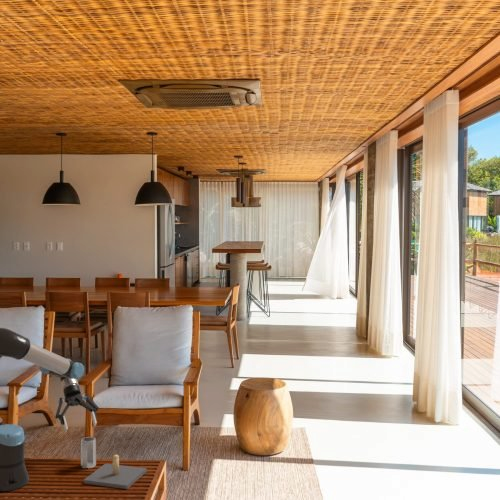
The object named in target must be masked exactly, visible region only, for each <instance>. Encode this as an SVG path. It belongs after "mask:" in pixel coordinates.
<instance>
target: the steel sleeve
mask: <svg viewBox="0 0 500 500" xmlns="http://www.w3.org/2000/svg"><path fill="white" fill-rule="evenodd" d="M81 466H82V467H81ZM96 466H97V439H96V437H94V436H87V437H82V438H81V440H80V467H81V468H82V469H86V468H88V469H92V468H94V467H96Z"/></svg>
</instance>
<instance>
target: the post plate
mask: <svg viewBox="0 0 500 500" xmlns="http://www.w3.org/2000/svg"><path fill="white" fill-rule="evenodd" d="M147 470H148V469H147V467H139V466H129V465H121V464H120V456H119V454H114V455H113V456H112V463H104V464H103V465H101V466H100V467H99V468H97V469H96V470H94V472H92V473H91V474H90V475H88V476H87V477H85V478H84V479H83V484H85V485H93V486H99V487H107V488H109V487H110V488H117V489H122V490H123V489H125V490H128V489H129V488H130V487H131V486H132V485H133V484H135V482H137V481H138V480H139V479H141V477H142V476H143V475H144V474H146V473H147Z"/></svg>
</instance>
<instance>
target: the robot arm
mask: <svg viewBox="0 0 500 500" xmlns="http://www.w3.org/2000/svg"><path fill="white" fill-rule="evenodd" d="M3 357H5V358H6V357H7V358H12V359H14V360H17V361H18V360H19V361H20V360H23V361H26V362H29V363H31V364H33V365H36V366H38V369H39V371H40V372H41V373H42V374H45V375H49V376H53V377H56V378H59V380H60V383H61V387H62V388H61V389H62V391H63V395H64V398H63V397H59V399H58V406H57V408H56V409H57V410H56V413H55V416H54V418H55V419H56V420H57V419H58V420H59V421H60V424H61V426H63V429H64V432H65V433H66V432H67V431H68V429H69V428H68V423H67V420H66V415H65V414H66V413H67V411H68V409H69V408H70V407H77V406H80V407H83V408H84V409H86V410H87V411H89V412H90V417H91V421H92V423H93V426H94V427H96V426H97V424H98V422H97V417H98V415H97V412H98V411H99V409H100V407H99V406H98V404H96V403H95V401H93V399H92V398H91V397H90V396H89V394H88V393H85V394H82V393H81V389H80V384H79V382H78V380H79V379H81V378H82V377H83V376H84V373H85V366H84V365H83V364H82V363H81V362H76V361H75V362H74V361H73V360H71V358H65V357H63V356H61V355H59V354H57V353H55V352H52V351H51V350H49V349H48V350H47V349H45V348H43V347H41V346H39V345H36V344H34V343H33V342H31V340H30V338H27V337H25V336H24V335H21V334H19V333H17V332H15V331H13V330H12V329H8V328H6V327H0V360H1V359H3ZM64 403H66V405H65V406H64V408H63V410H62V409H61V408H62V406H63V404H64ZM61 410H62V411H61ZM60 412H61V413H60ZM25 438H26V437H25V432H24V428H23V427H21V426H20V425H19V424H13V423H11V424H10V423H6V424H3V418H2V417H0V492H9V491H14V490H18V489H20V488H21V489H22V488H23V487H25V486H26V485H27V484H28V483H29V482H30V476H29V473H28V470H27V467H26V464H25Z"/></svg>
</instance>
